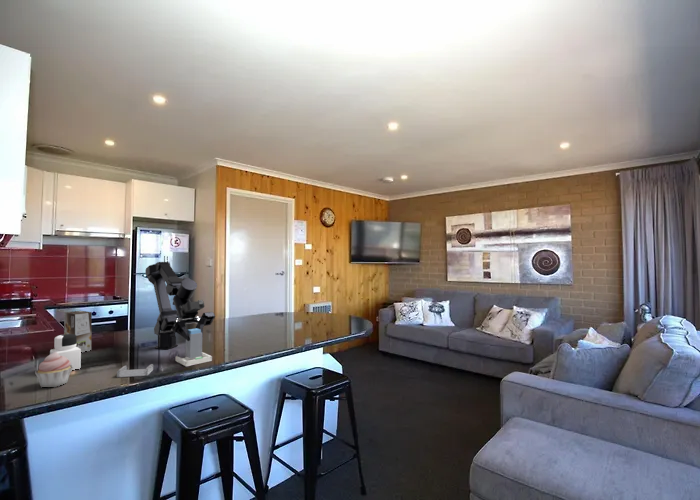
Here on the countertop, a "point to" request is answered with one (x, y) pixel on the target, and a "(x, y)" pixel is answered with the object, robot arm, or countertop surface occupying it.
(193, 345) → the fibre plug
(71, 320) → the coffee box
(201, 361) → the dock tray
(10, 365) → the countertop surface
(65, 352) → the medicine bottle
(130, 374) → the shallow white tray
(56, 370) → the cupcake
